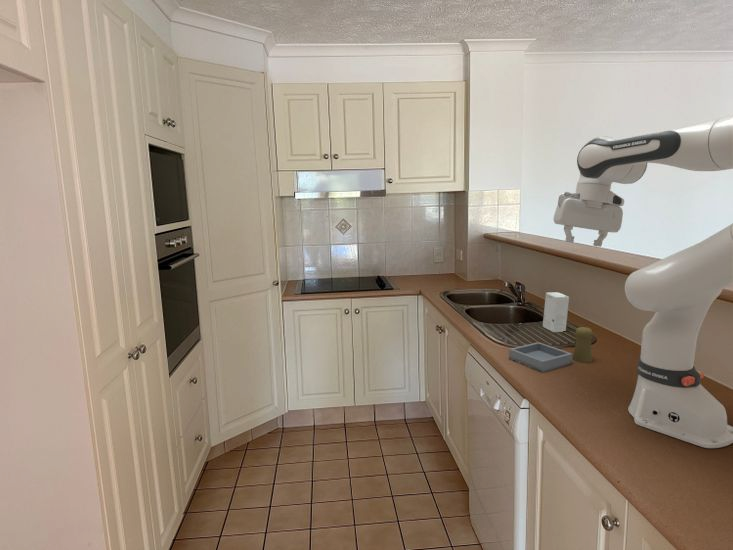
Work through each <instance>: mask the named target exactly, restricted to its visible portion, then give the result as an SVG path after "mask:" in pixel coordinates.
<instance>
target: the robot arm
mask: <svg viewBox="0 0 733 550" xmlns="http://www.w3.org/2000/svg"><path fill="white" fill-rule="evenodd" d="M576 164H577V169H578V171H579V179H578V181H577V183H576V188H575V193H574V192H573V193H572V192H568V191H564V192H562V193H561V194H560V195H559V197H558V200H557V205H556V208H555V211H554V215H553V222H554V224H556V225H559V226H560V225H561V226H563V232H564V234H565V242H566V243H572V244H573V243H574V241H575V236H573V233H572V230H573V229H574V228H579V229H585V230H586V229H587V230H594V231H598V237H597V238H596V239H593V244H592V245H593V246H594V247H600V248H601V247H602V245H603V241H604V240H605V239H606V238H607V236H608V233H614V234H615V233H618V232H619V231H620V230H621V227H622V222H623V214H624V212H623V206H624V205H625V198H623V197H621V196H619V195H618V194H617V193H615V192H613V191H611V188H612V184H613V183H616V184H622V185H628V184H629V185H630V184H634V183H636V182H638V181H639V180H640V179H641V178H642V177H643V176H644V174H645V173H646V171H647V168H648V164H660V165H665V166H670V167H675V168H677V169H678V168H679V169H683V170H687V171H693V172H720V171H726V170H732V169H733V115H728V116H725V117H720V118H717V119H712V120H709V121H705V122H700V123H697V124H692V125H689V126H685V127H680V128H673V129H670V130H664V131H660V132H653V133H649V134H648V133H647V134H641V135H637V136H632V137H627V138H621V139H615V138H614V137H611V136H598V137H594V138H592V139H590V140H589V141H587V143H585V145H584V146H582V147H581V149H580V150H579V152H578V154H577V158H576ZM730 286H733V223H731V224H729V225H727V226H726V227H724V228H723V229H721V230H718V231H717V232H715V233H714V234H712V235H711V236H708V237H707V238H706V239H703V240H702V241H700V242H698V243H696V244H694V245H691V246H688V247H686V248H684V249H681V250H680V251H678V252H675V253H673V254H670V255H668V256H666V257H664V258H662V259H659V260H658V261H656V262H654V263H651V264H649V265H648V266H645V267H641V268H639V269H637V270H635V271H633V272H631V273H630V274H629V275H628V276H627V278H626V280H625V282H624V293H625V296H626V299H627V301H628V302H629V303H630V304H631V306H633V307H634V308H635V309H638V310H641V311H648V312H655V313H654V315H653V316H652V318H651V319H650V321H649V322H647V324H645V326H644V327H643V330H642V336H641V345H640V346H641V347H640V357H638V359H637V369H636V376H637V379H636V380H637V381H636V386H635V390H634V393H633V396H632V399H631V402H630V404H629V405H628V407H627V408H628V409H627V410H628V412H629V414H630V415H631V416H632V417H633V420H634V424H636V425H637V426H640V427H643V428H646V429H648V430H651V431H655V432H658V433H660V434H664V435H666V436H669V437H672V438H675V439H677V440H679V441H683V442H686V443H690V444H693V445H694V446H699V447H701V448H705V449H719V448H724V447H727V446H729V445H731V444H733V426H732V425H729V424H728V415H727V411H726V408H725V407H724V405H723V404H722V403H721V402H720V401H718V400H717V398H715V397H714V396H713V395H712V394H711V393H710V392H709V391H708V390H707V389H706V388H705V387H704V386H703V385H702V384H701V379H702V378H704V377H705V374H706V373H705V372H704V371H703V372H701V373H699V372H698V371H697V369H696V367H695V365H694V364H695V363H694V362H695V356H696V355H695V354H696V349H697V340H698V336H699V333H700V330H701V327H702V324H703V322H704V320H705V318H706V316H707V313H708V311H709V310H710V307H711V305H712V304H713V303H714V301H715V300H716V299H717V298H718V297H719V296H720V295H721V293H722V291H723V290H724V288H727V287H730Z"/></svg>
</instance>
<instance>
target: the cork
mask: <svg viewBox="0 0 733 550" xmlns="http://www.w3.org/2000/svg"><path fill="white" fill-rule="evenodd" d="M593 332H594V331H593V329H591V328H590V327H585V326H581V327H580V326H579V327H578V328H576V330H575V336H576V341H575V347H574V350H573V357H572V361H575V362H579V363H585V364H587V363H589V364H590V363H592V362H593V352H592V351H593V349H592V340H591V339H592V338H593V335H594V333H593Z"/></svg>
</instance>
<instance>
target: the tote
mask: <svg viewBox="0 0 733 550" xmlns="http://www.w3.org/2000/svg"><path fill="white" fill-rule="evenodd" d="M508 351H509V354H508V359H509V358H510V359H509V360H511V359H512V360H511V361H513V360H515V361H514V362H516V361H518V362H520V363H522V364H521V365H523V364H525V365H527V366H526V367H528V366H530V367H532V368H531V369H533V368H534V369H533V370H535V369H536V370H535V371H537V370H539V371H538V372H540V371H541V372H540V373H545V372H549V371H552V370H555V369H560V368H562V367H566V366H570V365H572V364H573V355H574V353H571V352H570V351H569V352H568V351H566V350H562V349H559V348H557V347H553V346H552V345H548V344H545V343H542V342H539V341H538V342H534V343H530V344H524V345H521V346H517V347H512V348H509V350H508ZM518 362H517V363H518ZM520 363H519V364H520ZM525 365H524V366H525ZM530 367H529V368H530Z"/></svg>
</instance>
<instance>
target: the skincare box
mask: <svg viewBox="0 0 733 550" xmlns="http://www.w3.org/2000/svg"><path fill="white" fill-rule="evenodd" d="M569 302H570V296H568V295H566V294H564V293H561V292H558V291H557V292H556V291H555V292H552V291H551V292H545V301H544V309H543V310H544V311H543V320H542V328H544V329H547V330H548V331H550V332H552V333H564V332H563V331H566V332H567V323H568V322H567V321H568V311H569V305H570V304H569Z"/></svg>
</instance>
